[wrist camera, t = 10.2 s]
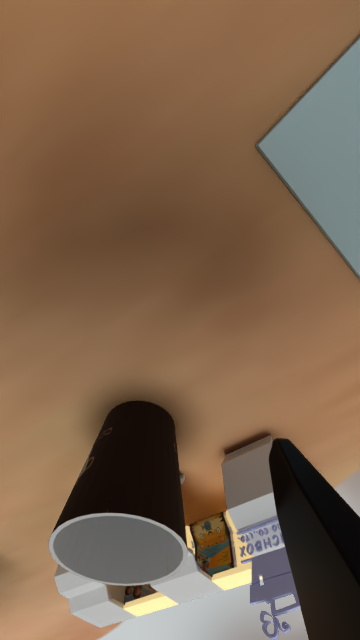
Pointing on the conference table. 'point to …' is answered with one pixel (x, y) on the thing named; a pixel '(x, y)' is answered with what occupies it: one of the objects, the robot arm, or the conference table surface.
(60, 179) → the conference table surface
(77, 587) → the diorama
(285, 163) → the flat light blue board
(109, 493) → the coffee mug
